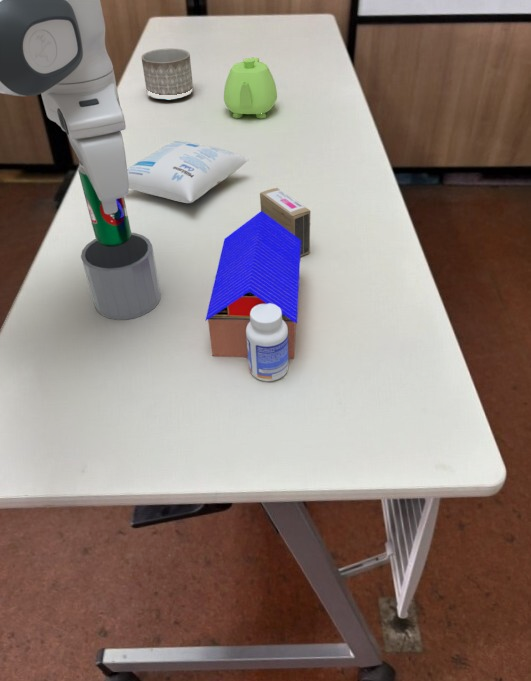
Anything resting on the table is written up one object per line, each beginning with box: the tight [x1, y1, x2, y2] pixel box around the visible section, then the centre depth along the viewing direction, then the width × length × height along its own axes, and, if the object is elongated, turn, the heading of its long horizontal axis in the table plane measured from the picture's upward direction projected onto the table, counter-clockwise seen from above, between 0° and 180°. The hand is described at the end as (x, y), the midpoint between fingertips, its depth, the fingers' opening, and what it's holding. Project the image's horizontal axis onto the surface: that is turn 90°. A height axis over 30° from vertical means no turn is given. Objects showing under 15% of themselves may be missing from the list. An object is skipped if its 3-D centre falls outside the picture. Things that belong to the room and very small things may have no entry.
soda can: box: [77, 160, 132, 247], centre depth 78 cm, size 5×5×12 cm
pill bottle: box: [246, 303, 289, 382], centre depth 74 cm, size 5×5×10 cm
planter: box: [140, 48, 194, 95], centre depth 154 cm, size 13×13×10 cm
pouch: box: [127, 140, 250, 204], centre depth 114 cm, size 8×19×20 cm
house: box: [205, 210, 301, 360], centre depth 82 cm, size 12×20×12 cm, turn 176°
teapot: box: [223, 57, 278, 119], centre depth 143 cm, size 20×13×13 cm
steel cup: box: [80, 232, 162, 321], centre depth 87 cm, size 10×10×9 cm
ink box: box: [259, 187, 311, 258], centre depth 98 cm, size 10×4×8 cm, turn 32°
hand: (105, 201), depth 78 cm, fingers closed on soda can, 5 cm apart
